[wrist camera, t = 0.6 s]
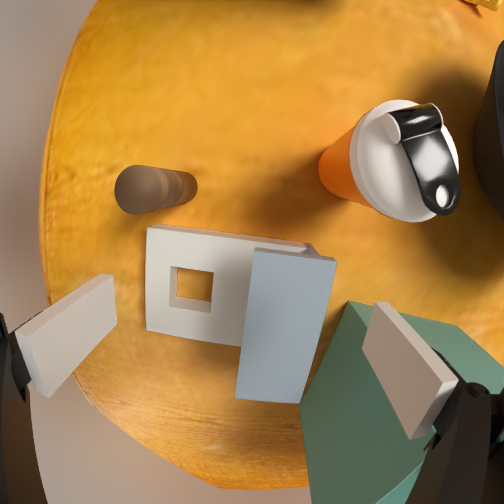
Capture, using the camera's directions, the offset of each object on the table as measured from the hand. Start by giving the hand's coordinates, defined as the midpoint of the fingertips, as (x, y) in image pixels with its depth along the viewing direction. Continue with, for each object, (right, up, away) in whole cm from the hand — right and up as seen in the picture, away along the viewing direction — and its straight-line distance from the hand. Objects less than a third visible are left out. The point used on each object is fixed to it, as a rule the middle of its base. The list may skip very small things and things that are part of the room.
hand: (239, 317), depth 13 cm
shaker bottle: (+12, +13, +20) cm, 27 cm away
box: (+22, -16, +27) cm, 39 cm away
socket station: (-3, -1, +24) cm, 24 cm away
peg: (-8, +11, +21) cm, 25 cm away
